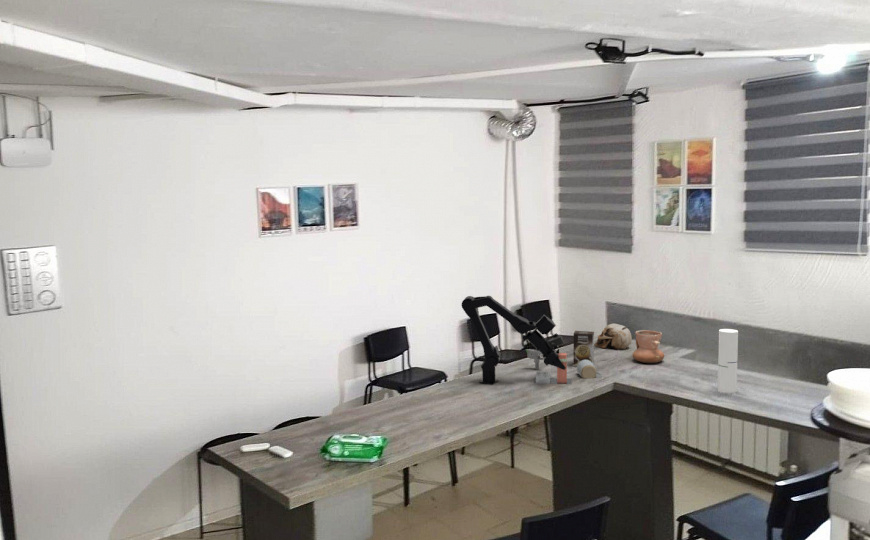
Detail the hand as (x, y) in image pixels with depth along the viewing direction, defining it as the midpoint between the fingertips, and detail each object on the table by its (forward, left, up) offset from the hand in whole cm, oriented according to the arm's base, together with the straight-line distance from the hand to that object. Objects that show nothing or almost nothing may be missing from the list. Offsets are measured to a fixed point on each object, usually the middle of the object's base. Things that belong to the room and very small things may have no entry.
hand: (565, 367), depth 304 cm
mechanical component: (+14, +18, -7) cm, 24 cm away
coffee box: (+33, +2, -7) cm, 34 cm away
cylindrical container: (+18, -63, -7) cm, 66 cm away
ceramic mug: (+13, -7, -8) cm, 17 cm away
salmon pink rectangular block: (0, +1, -6) cm, 6 cm away
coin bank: (+74, 0, -8) cm, 75 cm away
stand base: (-2, +5, -7) cm, 9 cm away
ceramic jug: (+53, -23, -8) cm, 58 cm away
